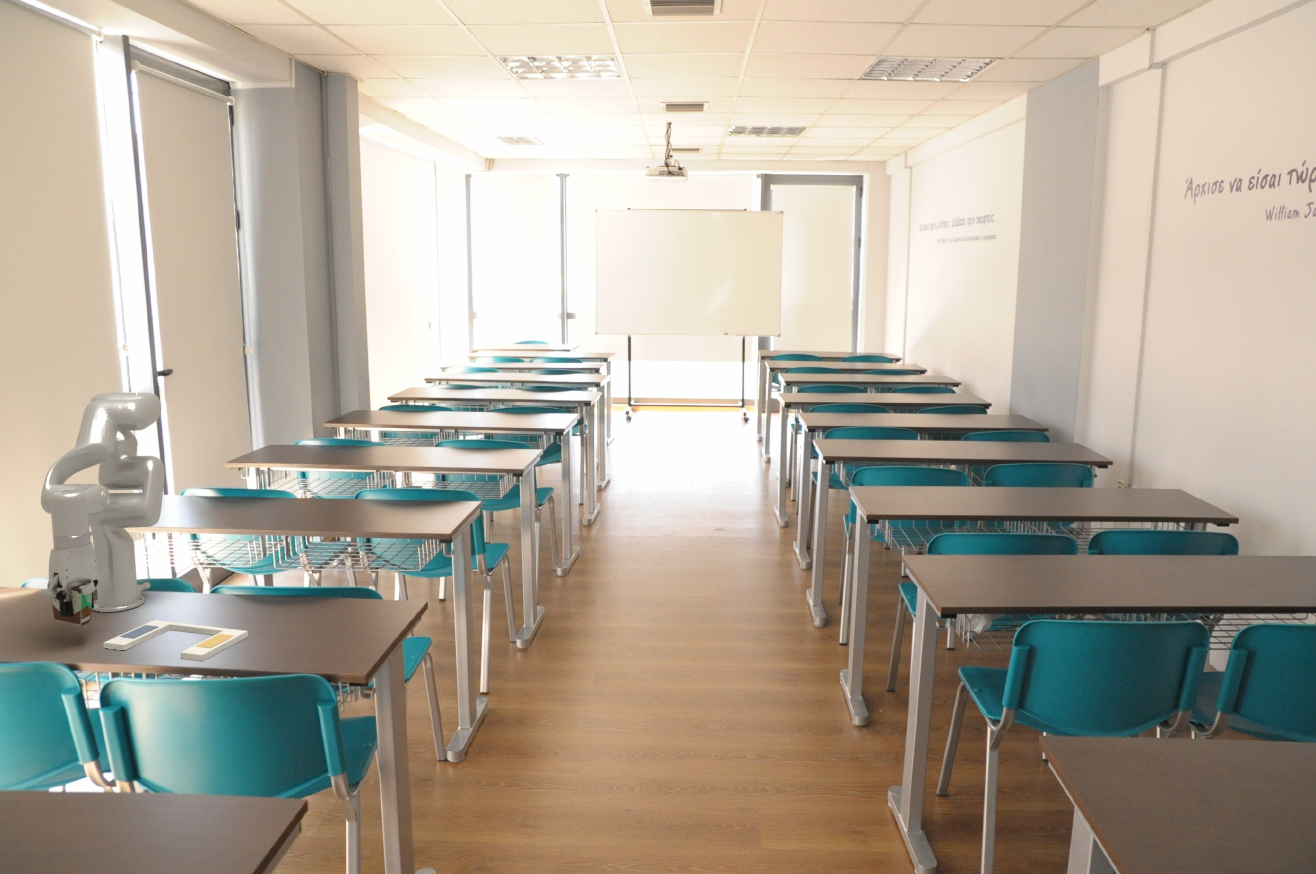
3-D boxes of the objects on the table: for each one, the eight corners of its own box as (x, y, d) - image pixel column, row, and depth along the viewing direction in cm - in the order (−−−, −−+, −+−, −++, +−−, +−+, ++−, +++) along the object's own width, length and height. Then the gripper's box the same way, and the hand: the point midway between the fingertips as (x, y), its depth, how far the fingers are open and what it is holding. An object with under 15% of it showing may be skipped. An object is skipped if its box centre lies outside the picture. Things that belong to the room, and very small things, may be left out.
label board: (154, 625, 229) (154, 619, 229) (248, 636, 223) (247, 630, 223) (103, 648, 214) (103, 641, 214) (202, 661, 208) (202, 654, 208)
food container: (108, 618, 218) (106, 580, 217) (85, 626, 212) (83, 587, 211) (73, 611, 222) (70, 573, 221) (49, 619, 217) (46, 580, 215)
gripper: (89, 531, 223) (94, 599, 225) (27, 548, 206) (33, 622, 209) (113, 533, 221) (118, 602, 224) (53, 551, 205) (59, 625, 207)
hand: (77, 611), depth 216 cm, fingers closed on food container, 5 cm apart
